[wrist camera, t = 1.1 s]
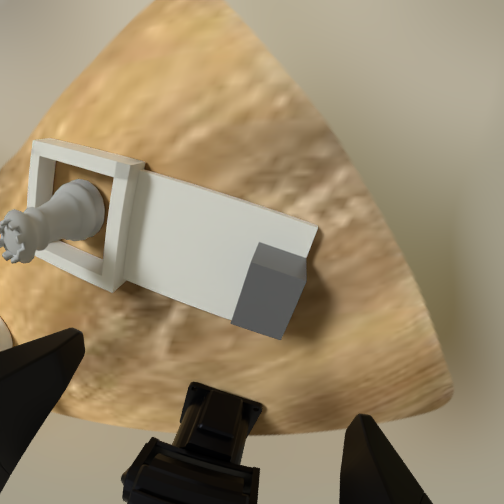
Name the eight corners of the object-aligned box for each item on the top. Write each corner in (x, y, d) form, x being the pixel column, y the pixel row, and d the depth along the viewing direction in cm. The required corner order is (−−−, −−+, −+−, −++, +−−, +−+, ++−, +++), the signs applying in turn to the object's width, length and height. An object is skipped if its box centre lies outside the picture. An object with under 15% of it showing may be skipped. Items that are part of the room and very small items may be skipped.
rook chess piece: (89, 247, 22) (18, 293, 15) (56, 206, 21) (-19, 238, 14) (118, 208, 21) (41, 247, 13) (82, 165, 20) (-1, 186, 12)
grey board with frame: (272, 335, 22) (266, 370, 18) (42, 243, 23) (12, 259, 19) (320, 217, 19) (324, 236, 15) (50, 138, 19) (15, 142, 16)
